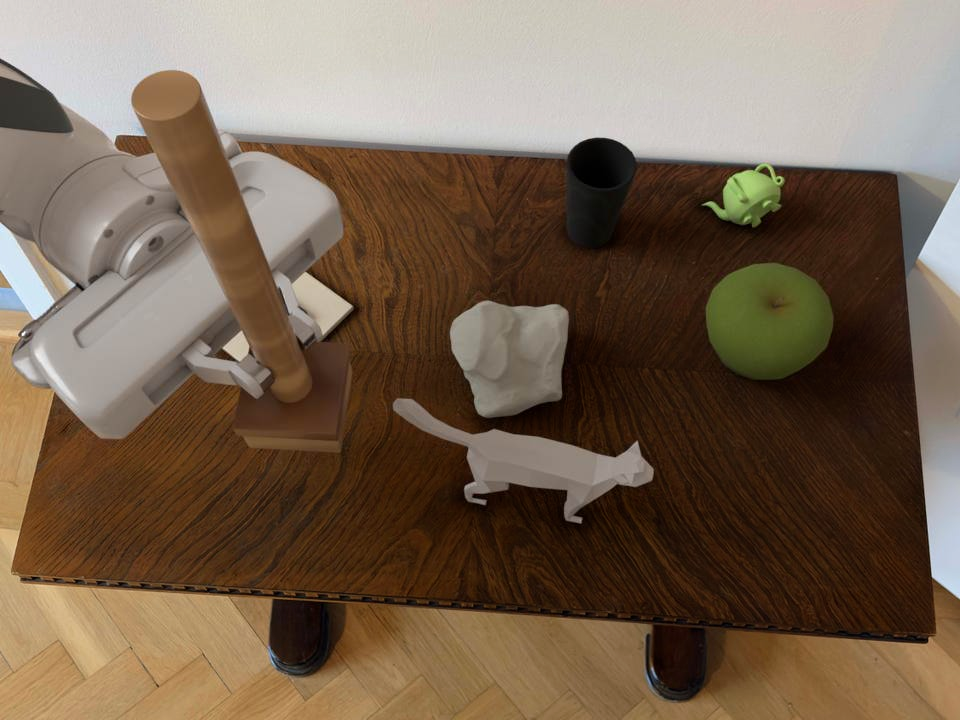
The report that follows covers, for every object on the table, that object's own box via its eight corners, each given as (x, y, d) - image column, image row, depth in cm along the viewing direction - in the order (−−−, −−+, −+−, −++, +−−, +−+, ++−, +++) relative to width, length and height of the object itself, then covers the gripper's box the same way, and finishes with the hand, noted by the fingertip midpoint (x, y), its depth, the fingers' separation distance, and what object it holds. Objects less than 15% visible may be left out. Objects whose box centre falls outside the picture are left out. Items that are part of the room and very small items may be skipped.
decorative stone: (475, 435, 74) (448, 333, 69) (462, 389, 82) (436, 295, 78) (595, 402, 74) (575, 298, 70) (570, 359, 82) (550, 264, 78)
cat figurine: (630, 537, 71) (662, 480, 59) (399, 490, 73) (383, 425, 61) (636, 488, 73) (669, 422, 61) (412, 443, 75) (398, 370, 63)
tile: (272, 389, 78) (271, 386, 77) (191, 324, 81) (189, 321, 80) (354, 309, 82) (353, 306, 81) (273, 250, 85) (272, 247, 84)
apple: (795, 303, 82) (833, 242, 73) (817, 402, 77) (861, 349, 68) (683, 305, 82) (708, 244, 73) (698, 404, 77) (727, 351, 68)
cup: (547, 239, 85) (554, 173, 77) (575, 195, 88) (585, 127, 79) (604, 264, 84) (618, 201, 75) (631, 220, 87) (648, 153, 78)
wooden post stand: (343, 456, 55) (234, 164, 30) (245, 450, 55) (56, 156, 30) (356, 368, 58) (265, 38, 33) (263, 363, 58) (104, 31, 33)
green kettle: (750, 184, 89) (766, 147, 84) (781, 221, 86) (799, 185, 81) (701, 206, 87) (714, 169, 82) (730, 244, 85) (746, 208, 80)
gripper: (-33, 325, 47) (131, 474, 43) (238, 112, 54) (399, 221, 50) (21, 377, 52) (171, 512, 48) (260, 177, 60) (407, 279, 56)
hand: (289, 362), depth 49 cm, fingers closed on wooden post stand, 2 cm apart
